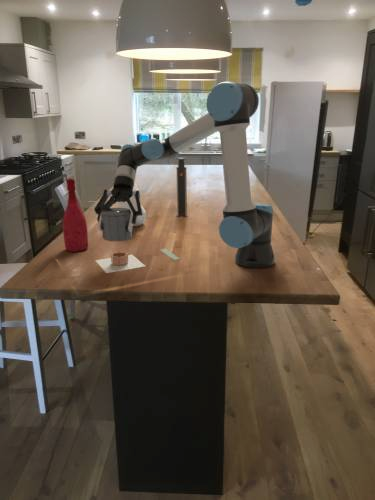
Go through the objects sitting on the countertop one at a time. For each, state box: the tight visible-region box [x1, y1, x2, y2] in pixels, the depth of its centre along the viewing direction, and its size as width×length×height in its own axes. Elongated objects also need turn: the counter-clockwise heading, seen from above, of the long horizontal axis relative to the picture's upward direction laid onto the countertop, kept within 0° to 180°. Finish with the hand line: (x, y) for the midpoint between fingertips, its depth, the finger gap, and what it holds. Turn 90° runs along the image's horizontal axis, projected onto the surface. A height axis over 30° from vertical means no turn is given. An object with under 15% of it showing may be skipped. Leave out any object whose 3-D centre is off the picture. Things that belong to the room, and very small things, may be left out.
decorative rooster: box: [118, 181, 147, 227], centre depth 204 cm, size 25×16×25 cm, turn 7°
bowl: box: [110, 251, 129, 266], centre depth 153 cm, size 6×6×4 cm
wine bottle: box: [62, 178, 89, 253], centre depth 169 cm, size 10×10×30 cm
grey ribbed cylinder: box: [101, 207, 133, 242], centre depth 149 cm, size 10×10×10 cm
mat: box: [160, 248, 181, 261], centre depth 163 cm, size 14×14×1 cm
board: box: [94, 254, 146, 274], centre depth 154 cm, size 15×15×1 cm
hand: (114, 230), depth 147 cm, fingers closed on grey ribbed cylinder, 11 cm apart
